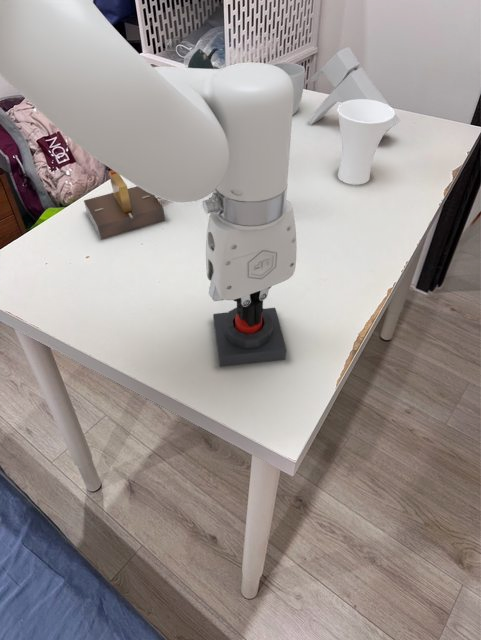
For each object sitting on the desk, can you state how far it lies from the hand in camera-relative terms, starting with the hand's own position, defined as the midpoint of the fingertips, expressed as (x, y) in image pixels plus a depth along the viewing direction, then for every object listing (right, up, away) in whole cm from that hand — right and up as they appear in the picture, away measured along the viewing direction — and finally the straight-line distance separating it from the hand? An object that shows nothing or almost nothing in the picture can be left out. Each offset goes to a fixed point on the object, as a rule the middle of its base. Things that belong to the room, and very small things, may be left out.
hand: (249, 318), depth 62 cm
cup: (+22, +29, +34) cm, 50 cm away
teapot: (-10, +29, +34) cm, 45 cm away
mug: (+9, +51, +55) cm, 75 cm away
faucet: (+24, +44, +48) cm, 69 cm away
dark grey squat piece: (0, -3, +3) cm, 5 cm away
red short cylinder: (0, -1, +1) cm, 2 cm away
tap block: (-22, +19, +24) cm, 38 cm away
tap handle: (-22, +21, +22) cm, 38 cm away
